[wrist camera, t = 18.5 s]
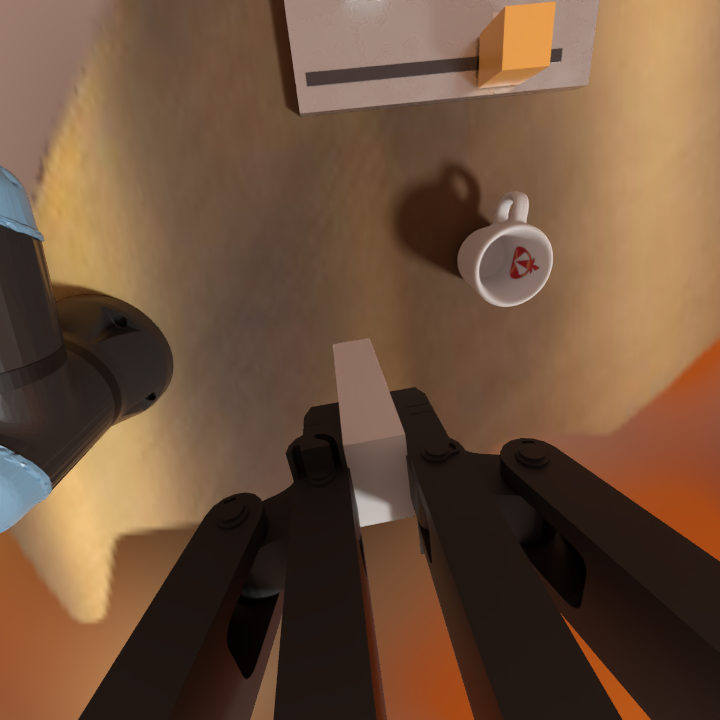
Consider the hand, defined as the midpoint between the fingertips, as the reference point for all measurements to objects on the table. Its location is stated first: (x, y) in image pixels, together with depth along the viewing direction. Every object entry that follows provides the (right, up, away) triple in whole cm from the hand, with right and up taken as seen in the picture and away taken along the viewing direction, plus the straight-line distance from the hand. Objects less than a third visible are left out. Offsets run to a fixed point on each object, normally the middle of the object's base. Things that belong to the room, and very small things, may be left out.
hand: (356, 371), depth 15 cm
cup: (+15, +14, +27) cm, 34 cm away
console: (+8, +32, +18) cm, 37 cm away
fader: (+13, +28, +18) cm, 36 cm away
